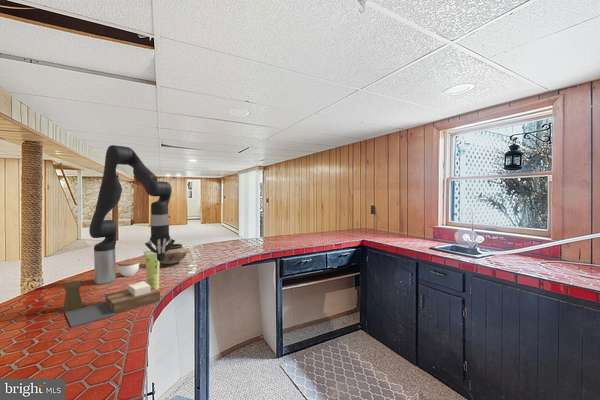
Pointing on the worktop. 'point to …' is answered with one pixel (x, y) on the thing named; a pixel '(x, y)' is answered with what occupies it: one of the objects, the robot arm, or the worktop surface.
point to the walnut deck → (130, 300)
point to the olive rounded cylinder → (72, 296)
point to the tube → (152, 269)
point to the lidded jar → (128, 267)
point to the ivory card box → (139, 288)
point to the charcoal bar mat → (88, 314)
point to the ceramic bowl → (174, 255)
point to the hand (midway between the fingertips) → (160, 261)
